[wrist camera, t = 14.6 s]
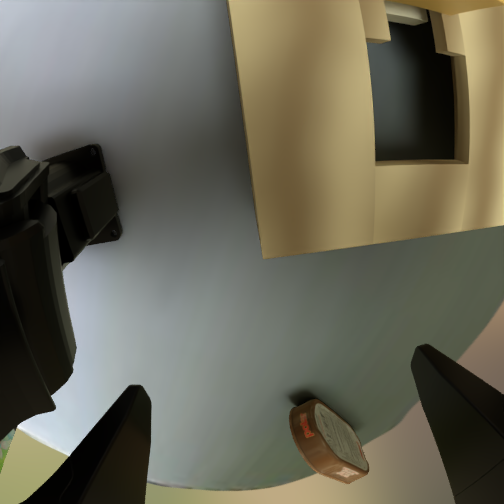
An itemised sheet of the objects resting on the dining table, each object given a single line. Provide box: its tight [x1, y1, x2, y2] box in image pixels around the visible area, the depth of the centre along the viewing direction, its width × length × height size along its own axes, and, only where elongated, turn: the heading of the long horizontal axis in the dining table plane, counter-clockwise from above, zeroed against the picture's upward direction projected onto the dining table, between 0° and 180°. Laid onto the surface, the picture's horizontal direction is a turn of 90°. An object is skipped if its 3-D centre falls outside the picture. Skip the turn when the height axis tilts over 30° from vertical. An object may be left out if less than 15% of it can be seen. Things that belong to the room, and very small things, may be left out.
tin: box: [289, 399, 369, 484], centre depth 27 cm, size 15×3×8 cm, turn 36°
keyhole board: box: [226, 0, 504, 259], centre depth 11 cm, size 16×22×6 cm
